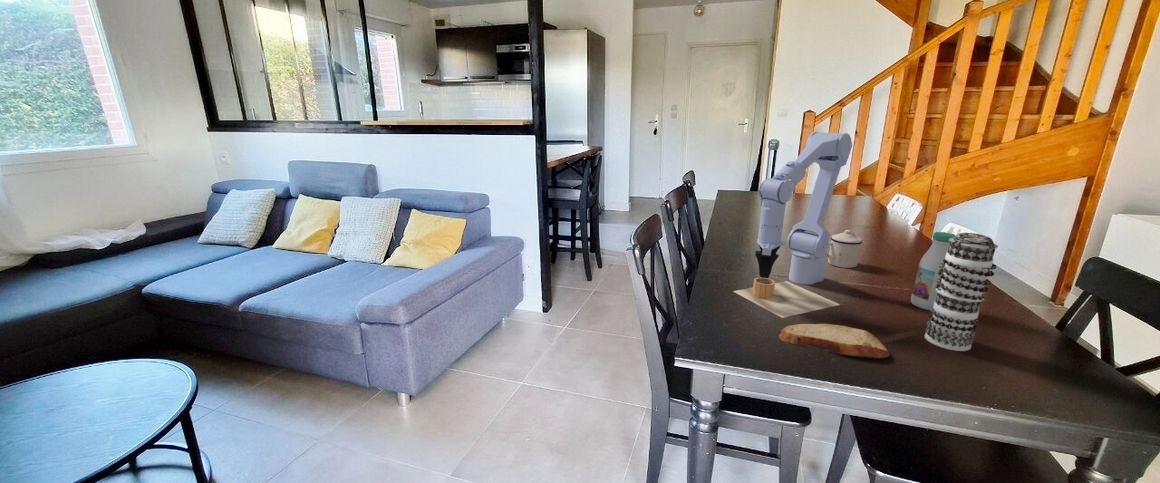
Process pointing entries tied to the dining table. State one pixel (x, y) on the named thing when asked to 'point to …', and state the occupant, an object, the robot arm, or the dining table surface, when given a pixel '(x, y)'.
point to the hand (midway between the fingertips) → (765, 272)
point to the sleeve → (763, 288)
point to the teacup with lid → (844, 250)
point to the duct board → (788, 299)
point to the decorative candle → (960, 291)
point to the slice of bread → (836, 339)
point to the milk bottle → (930, 271)
